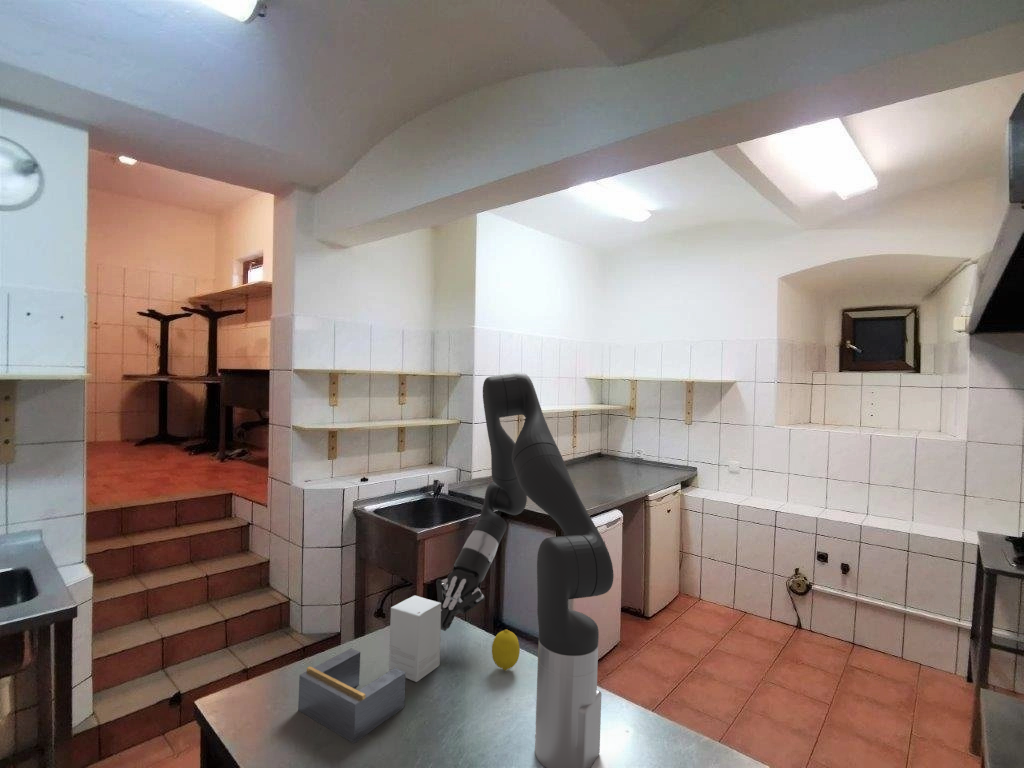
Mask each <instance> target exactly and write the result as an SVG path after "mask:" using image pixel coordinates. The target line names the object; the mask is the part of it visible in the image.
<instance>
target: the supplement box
mask: <svg viewBox="0 0 1024 768" xmlns="http://www.w3.org/2000/svg"><path fill="white" fill-rule="evenodd" d="M441 611H442V606H441V603H439V602H438V601H436V600H432V599H428V598H425V597H422V596H418V595H412V596H411V597H409V598H406V599H404V600H402V601H401V602H398V603H397V604H395V605H393V606H391V607H390V621H389V622H390V626H389V654H388V655H389V658H388V659H389V661H388V672H389V671H391V670H392V669H394V668H397V669H399V670H401V671H404V672H406V675H405V679H408V680H410V681H413V682H415V683H418V682H419V681H421V679H423V678H424V677H426V676H427V675H428V674H430V673H431V672H432V671H434V670H436V669H438V667H439V666H440V661H441V660H440V659H441V656H440V655H441Z"/></svg>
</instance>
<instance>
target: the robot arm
mask: <svg viewBox="0 0 1024 768" xmlns="http://www.w3.org/2000/svg"><path fill="white" fill-rule="evenodd" d="M482 385H483V386H482V401H483V410H484V416H485V417H484V418H485V423H486V431H487V436H488V441H489V448H490V457H491V458H490V459H491V460H490V461H491V479H492V481H491V482H490V483H489V484H488V486H486V487H487V488H486V490H485V493H484V500H483V503H482V508H481V509H482V510H481V512H480V516H479V518H478V520H477V522H476V524H475V526H474V527H473V529H472V532H471V533H470V535H469V536H468V537H467V539H466V541H465V543H464V545H463V546H462V548H461V551H460V553H459V554H458V556H457V558H456V560H455V562H454V563H453V569H452V571H451V572H450V573H449V574H448V575H447V578H444V579H440V578H437V579H436V581H435V586H436V594H437V597H436V598H437V602H439V603H441V629H440V631H444V632H446V631H447V630H448V629H449V628H450V627H451V625H452V623H453V621H454V619H455V617H456V615H458V614H461V615H465V614H467V613H469V611H471V610H473V609H475V607H477V606H478V605H480V604H481V603H483V602H484V601H485V598H486V597H485V595H484V594H483V593H482V591H481V587H482V582H483V581H484V580H485V577H486V575H487V573H488V571H489V569H490V567H491V565H492V562H493V561H494V559H495V556H496V554H497V551H498V547H499V545H500V543H501V540H502V538H503V536H504V534H505V533H506V530H507V527H508V525H507V522H506V521H505V519H504V518H503V517H502V516H500V515H499V514H497V513H496V512H495V510H498V511H500V512H502V513H506V514H509V515H511V516H517V515H519V514H521V513H522V512H523V511H524V510H525V508H526V506H527V502H528V501H527V499H528V498H529V499H530V500H531V502H533V503H534V504H535V505H537V506H538V507H539V508H540V509H541V510H543V512H545V513H546V514H547V515H548V516H550V518H552V519H553V520H554V521H555V522H556V524H558V526H559V528H560V529H561V530H562V532H563V533H564V535H561V536H551V537H546V538H545V539H543V540H542V541H541V543H540V545H539V548H538V550H537V556H536V588H537V589H536V590H537V593H536V594H537V606H536V610H537V611H536V613H537V622H538V643H537V644H538V648H537V649H538V650H537V651H538V652H537V677H536V699H535V701H536V705H535V706H536V707H535V730H534V731H535V734H534V739H535V740H534V754H535V756H536V758H537V760H538V762H540V764H541V765H542V766H543V767H545V768H591V767H592V765H593V764H594V763H595V761H596V760H597V758H598V756H599V755H600V754H601V753H600V752H601V751H600V749H601V724H602V723H601V719H602V718H601V717H602V713H601V712H602V691H600V690H598V666H599V665H598V663H599V661H598V660H599V637H600V636H599V627H598V625H597V623H596V621H595V620H594V619H593V618H592V617H590V616H588V615H587V614H584V613H582V612H579V611H576V610H573V609H570V608H569V600H575V599H583V598H591V597H598V596H602V595H604V594H608V593H609V591H610V589H612V587H613V584H614V579H615V578H614V577H615V576H614V575H615V574H614V566H613V562H612V561H613V560H612V559H611V555H610V552H609V550H608V547H607V546H606V543H605V541H604V539H603V537H602V535H601V534H600V532H599V530H598V528H597V526H596V524H595V523H594V521H593V519H592V518H591V516H590V514H589V513H588V511H587V509H586V508H585V505H584V503H583V501H582V500H581V498H580V496H579V494H578V492H577V489H576V488H575V485H574V483H573V480H572V479H571V476H570V474H569V471H568V469H567V468H568V467H567V466H566V463H565V460H564V458H563V457H562V453H561V452H560V449H559V448H558V445H557V443H556V441H555V439H554V437H553V434H552V433H551V431H550V429H549V426H548V424H547V421H546V418H545V416H544V413H543V410H542V406H541V405H540V401H539V398H538V395H537V392H536V389H535V387H534V386H535V385H534V383H533V382H532V379H531V378H530V376H528V374H526V373H523V372H515V373H514V372H513V373H507V374H506V373H505V374H500V375H499V374H498V375H497V374H496V375H492V376H488V377H486V378H485V379H484V381H483V384H482ZM520 415H521V416H524V422H523V426H522V428H521V430H520V432H519V434H518V436H517V439H516V441H514V440H513V439H512V438H511V436H510V435H509V434H508V433H507V432H506V431H505V429H504V428H503V426H502V424H501V420H500V418H508V417H513V416H520Z"/></svg>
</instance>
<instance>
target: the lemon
mask: <svg viewBox="0 0 1024 768" xmlns="http://www.w3.org/2000/svg"><path fill="white" fill-rule="evenodd" d="M520 652H521V651H520V642H519V638H518V637H517V635H516V634H515V633H514V632H513V631H510V630H508V629H504V630H501V631H499V632H498V633H497V634H496V635H495V636H494V639H493V641H492V645H491V657H492V660H493V662H494V663H495V665H496V666H497V667H499V668H500V669H502V671H504V672H505V671H507V670H509V669H511V668H513V667H514V666H515V665H516V664H517V662H518V660H519V657H520Z"/></svg>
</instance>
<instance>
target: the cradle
mask: <svg viewBox="0 0 1024 768" xmlns="http://www.w3.org/2000/svg"><path fill="white" fill-rule="evenodd" d="M360 667H361V651H360V650H359V651H358V650H356V649H355V648H352V647H351V648H349V649H347V650H345V651H342V653H339V654H337V655H336V656H333V657H332V658H330V659H328V660H325V661H324V662H322V663H320V664H318V665H316V666H314V667H313V666H310V665H309V666H308V667H306V671H304V672H303V673H300V674H299V679H298V680H299V685H298V704H297V711H298V712H301V714H303V713H304V714H303V715H304V716H307V717H308V718H310V719H312V720H314V722H317V723H318V724H320V725H321V726H323V727H326V728H327V729H329V730H330V731H332V732H333V733H335V734H336V735H339V736H340V737H342V738H344V739H346V740H347V741H349V742H351V743H352V744H355V743H357V742H359V740H361V739H362V738H364V737H365V736H367V734H369V733H370V732H372V731H373V730H375V729H376V728H378V727H379V726H380V725H381V724H383V723H384V722H385V721H387V720H388V719H390V718H391V717H393V716H394V715H395V714H397V713H398V712H399V711H401V710H403V709H404V708H405V701H406V700H405V698H406V697H405V696H406V678H405V675H406V672H404V671H401V670H399V669H397V668H394V669H392V670H391V671H389V670H388V671H387V672H386V673H384V674H383V675H381V676H380V677H378V678H377V679H375V680H373V681H371V682H370V683H368V684H367V685H365V686H363V687H362V688H360V689H356V687H357V686H359V685H360V671H361V670H360V669H361V668H360Z"/></svg>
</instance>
